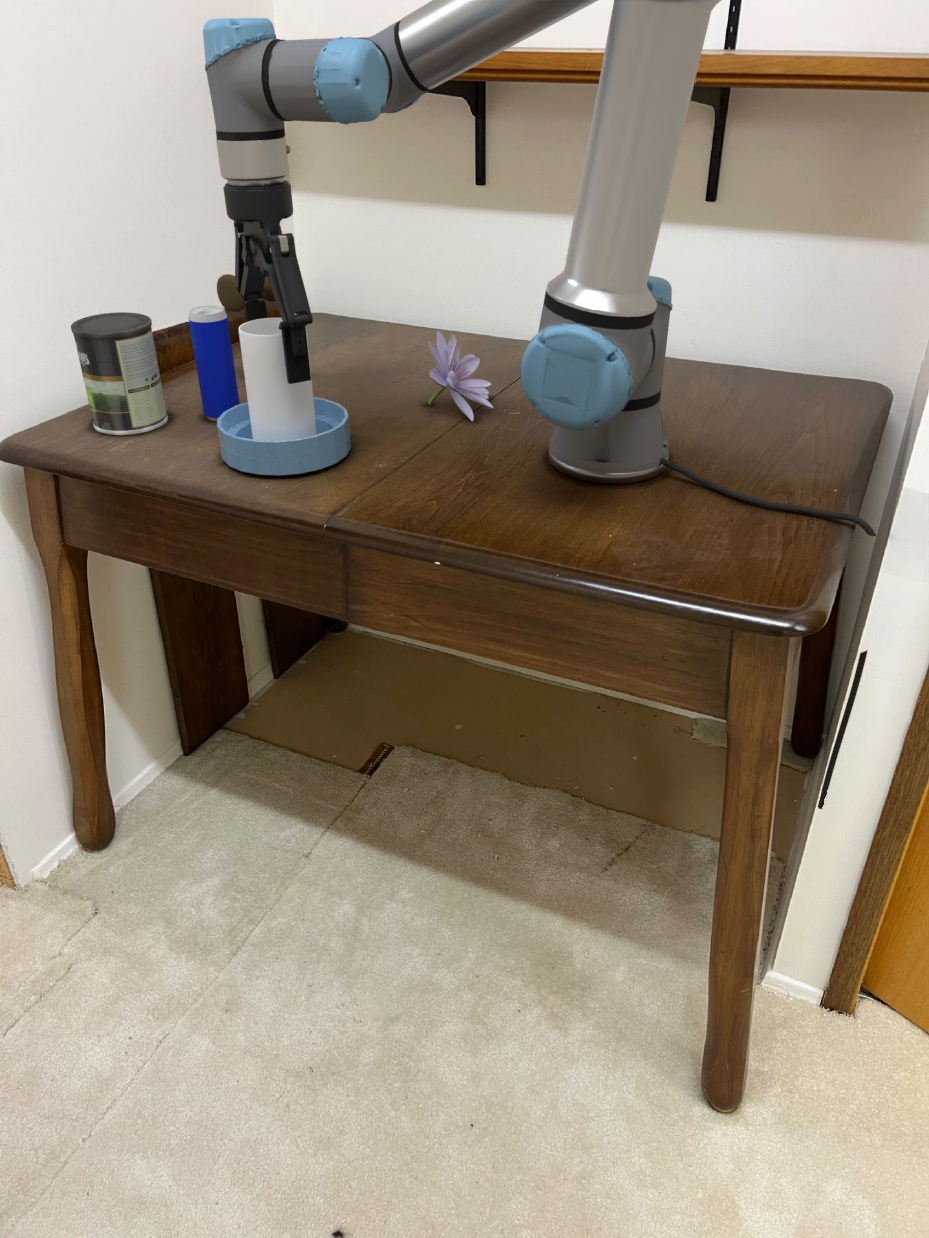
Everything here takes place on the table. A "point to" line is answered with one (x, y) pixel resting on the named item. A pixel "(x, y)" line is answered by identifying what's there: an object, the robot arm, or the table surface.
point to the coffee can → (120, 372)
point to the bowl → (285, 442)
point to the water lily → (457, 375)
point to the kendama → (231, 297)
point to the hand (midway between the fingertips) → (279, 367)
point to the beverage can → (214, 360)
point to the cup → (274, 385)
